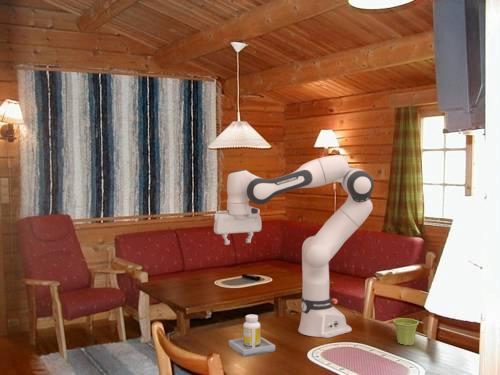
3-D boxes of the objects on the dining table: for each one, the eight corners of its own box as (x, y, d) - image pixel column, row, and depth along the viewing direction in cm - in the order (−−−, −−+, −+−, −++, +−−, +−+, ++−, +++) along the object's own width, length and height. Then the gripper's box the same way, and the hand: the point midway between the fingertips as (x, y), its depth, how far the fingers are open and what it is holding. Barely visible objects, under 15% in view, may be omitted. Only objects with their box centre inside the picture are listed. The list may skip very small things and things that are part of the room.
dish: (258, 340, 213) (258, 335, 213) (275, 351, 201) (275, 345, 201) (228, 346, 207) (228, 340, 207) (244, 357, 195) (244, 351, 195)
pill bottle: (261, 344, 207) (261, 314, 206) (259, 349, 200) (259, 319, 200) (244, 343, 208) (244, 313, 207) (241, 348, 201) (241, 318, 201)
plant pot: (388, 343, 210) (388, 321, 210) (400, 337, 217) (400, 316, 216) (410, 349, 204) (411, 326, 203) (422, 343, 210) (422, 321, 210)
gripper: (217, 211, 211) (217, 246, 212) (263, 209, 220) (263, 243, 221) (211, 210, 217) (211, 244, 217) (256, 208, 226) (256, 241, 227)
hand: (237, 243), depth 219 cm, fingers open, 8 cm apart
